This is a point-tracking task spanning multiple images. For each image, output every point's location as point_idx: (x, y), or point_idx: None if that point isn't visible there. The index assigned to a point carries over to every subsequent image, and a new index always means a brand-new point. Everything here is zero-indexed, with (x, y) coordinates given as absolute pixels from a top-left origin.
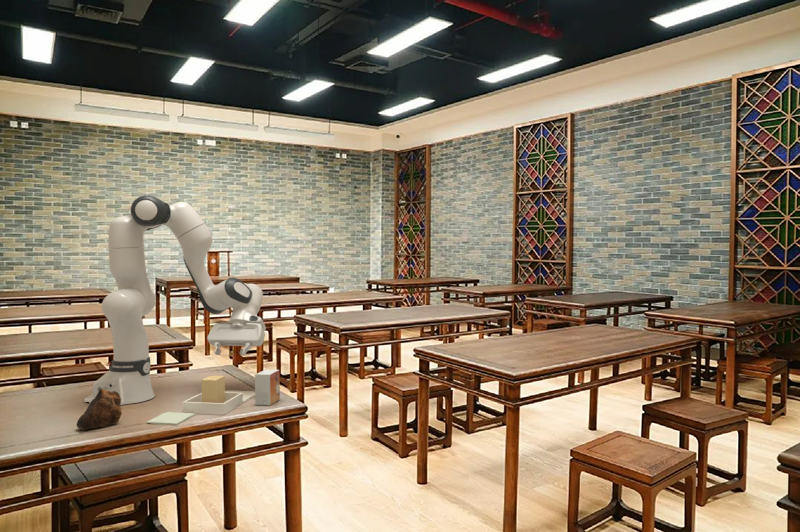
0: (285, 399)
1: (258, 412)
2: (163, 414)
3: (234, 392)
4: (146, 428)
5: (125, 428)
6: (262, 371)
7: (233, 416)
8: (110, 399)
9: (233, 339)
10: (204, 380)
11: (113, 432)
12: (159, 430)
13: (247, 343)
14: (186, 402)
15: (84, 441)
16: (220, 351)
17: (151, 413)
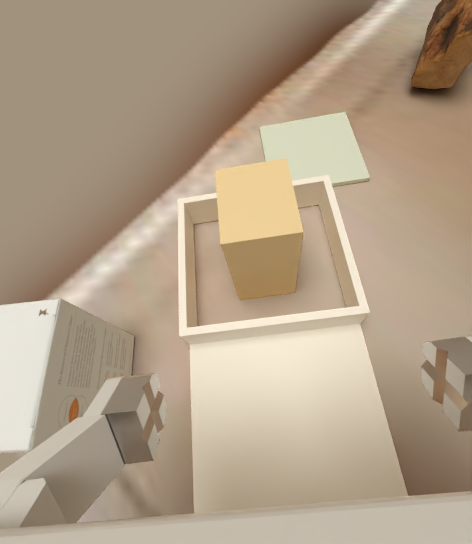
0: None
1: (96, 268)
2: (356, 161)
3: (316, 489)
4: (314, 98)
5: (362, 84)
6: (31, 375)
7: (155, 218)
8: (453, 4)
9: (297, 525)
10: (271, 162)
11: (363, 65)
12: (273, 100)
13: (2, 506)
14: (313, 177)
15: (369, 28)
16: (448, 402)
17: (415, 170)
